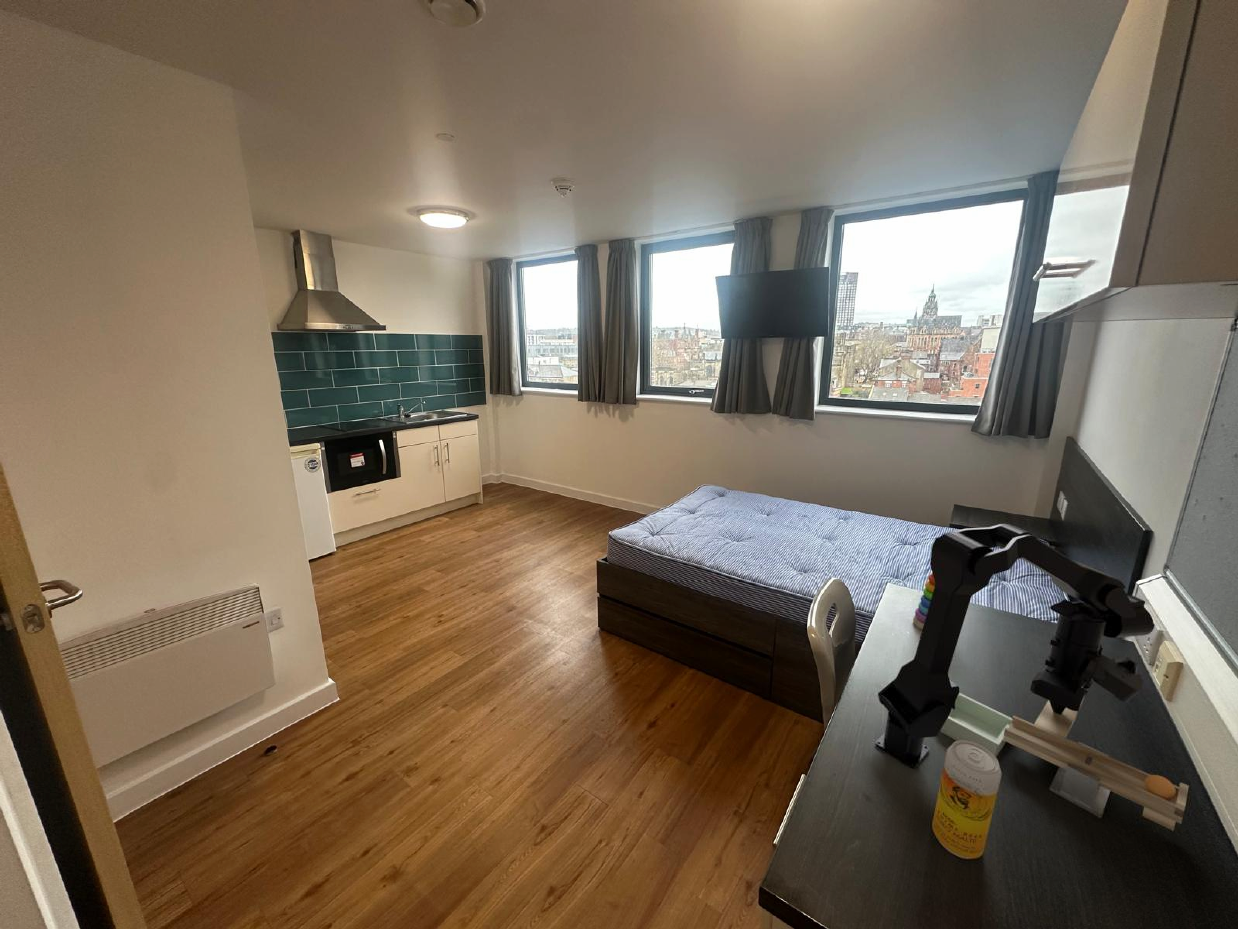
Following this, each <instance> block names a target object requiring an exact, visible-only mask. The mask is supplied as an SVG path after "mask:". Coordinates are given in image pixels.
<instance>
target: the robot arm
mask: <svg viewBox="0 0 1238 929" xmlns="http://www.w3.org/2000/svg"><path fill="white" fill-rule="evenodd" d="M996 547H999V548H1000V549H998V550H994V549H992V548H996ZM930 551H931V552H930V553H931V554H930V562H929V565H930V570H931V569H932V570H931V574H932V573H933V577H934V580H935V588H934V591H933V595H932V598H931V602H930V605H929V609H928V612H927V616H926V619H925V623H924V626H923V630H922V629H921V633H920V637H919V640H918V644H917V647H916V651H915V654H914V657H913V659H912V660H910V661H908V662H906V663H905V664H903V665H902V666H901V667H900V669H899V671H898V673H897V675H896V677H895V678H894V679H893V680H892V681H891V682H890V683H888V684H887V685H886V686H885V687H884V688H882V689H881V690H880V691H879V692H878V693H877V698H878V700H879V701H878V702H879V703H880V704H881V705H882V706H883V707H884V709H886V710H887V711H888V712H887V719H886V726H885V730H884V731H885V732H883V734H882V735H881V736H880V737H878V738H877V740H876V741H875V746H876V747H877V748H879V749H881V750H882V751H884V752H886V753H887V754H889V755H890V756H892V757H894V758H895V759H897V760H898V761H900V762H901V763H903V764H905V765H906V766H908V767H910V768H911V769H916V768H917V767H918V765H920V763H921V761H923V759H924V758H925V757H926V756H927V754H928V753H929V752H930V747H929V746H928V745H926V744H924V740H925V738H934V737H937V736H938V735H939V734H940V733H941V732H940V730H941V728H942V727H943V725H944V723H945V722H946V720H947V718H948V716H949V714H950V712H951V709H955V701H956V699H957V697H958V695H959V693H960V687H959V686H958V684H956V683H955V682H954V681H953V680H952V679H951V678H950V677H949V671H950V667H951V664H952V661H953V658H954V654H955V651H956V648H957V645H958V642H959V639H960V635H961V633H962V632H961V631H962V628H963V625H964V622H965V619H966V615H967V613H968V609H969V605H970V602H971V599H972V597H973V596H974V595H975V594H977V593H978V592H980V591H981V590H982V589H985V588H986V587H988V585H989V583H990V581H991V579H992V577H993V576H994V575H997V574H1000V573H1004V572H1007V571H1009V570H1011V569H1012V567H1013V566H1014V565H1015V564H1016V563H1017V561H1018V560H1020V559H1021V560H1023V561H1025V562H1026V563H1027V564H1030V565H1031V566H1033V567H1035V568H1037V569H1038V570H1039V571H1042V572H1043V573H1045V574H1047V575H1048V576H1049V578H1050V579H1051V582H1052V584H1054V585H1055V586H1056V587H1057V588H1058V589H1059V591H1060V590H1061V592H1063V593H1065V594H1067V595H1069V596H1071V597H1073V598H1075V599H1076V600H1079V601H1069V600H1068V599H1065V598H1064V599H1062V600H1061V601H1059V602H1055V603H1053V604H1052V605H1050V607H1049V610H1050V611H1053V612H1054V613H1056V614H1058V619H1057V623H1056V628H1055V631H1054V635H1053V636H1052V637H1051V639H1050V643H1049V645H1050V646H1051V647H1050V651H1049V655H1048V656H1047V658H1045V662H1044V665H1045V666H1046V667H1045V670H1043V671H1040V672H1037V673H1036V674H1035V676H1034V678H1033V679H1032V681H1031V684H1030V689H1029V691H1030V692H1031V693H1032V694H1035V695H1036V696H1037V697H1038V696H1039V697H1041V698H1043V699H1046V700H1047V701H1048V700H1049V702H1050V704H1051V707H1052V710H1053V712H1055V713H1057V714H1059V715H1061V714H1062V713H1063V711H1064V710H1065V708H1068V709H1070V710H1072V711H1078V712H1079V711H1080V710H1081V708H1082V705H1083V703H1084V700H1085V698H1086V697H1087V694H1088V692H1089V690H1087V689H1090V688H1091V686H1092V685H1093V683H1096V684H1097V685H1099V687H1101V688H1103V689H1104V690H1106V691H1107V692H1109V693H1110V694H1112V695H1114V698H1116V699H1118V700H1119V701H1120V702H1124V703H1127V702H1129V700H1131V699H1132V698H1133V697H1135V696H1136V694H1138V693H1139V692H1141V690H1142V689H1143V685H1144V679H1142V678H1143V676H1142V675H1141V674H1137V673H1138V665H1139V664H1138V663H1137V662H1136V661H1134V660H1133V659H1131V658H1129V657H1128V656H1126V657H1121V658H1116V659H1115V658H1114V657H1111V658H1109V657H1107V656H1105V655H1104V654H1103V651H1104V647H1102V642H1103V637H1106V638H1111V639H1112V638H1113V639H1116V638H1127V637H1128V638H1129V637H1141V636H1142V637H1143V636H1147V635H1150V634H1151V633H1152V632H1153V631H1154V628H1155V623H1154V619H1153V617H1152V615H1151V614H1150V612H1149V611H1148V610H1147V608H1146V607H1145V605H1146V601H1145V600H1143V599H1141V598H1139V597H1136V596H1135V595H1132V594H1131V595H1128V594H1127V593H1126V591H1125V589H1126V583H1124V581H1122V580H1121V579H1119V578H1118V577H1117V578H1116V577H1115V576H1112V575H1109V574H1107V573H1105V572H1103V571H1100V570H1098V569H1096V568H1093V567H1091V566H1088V565H1087V564H1084V563H1081V562H1080V561H1076V560H1073V559H1071V558H1069V557H1067V555H1065V554H1062V553H1061V552H1060V551H1058V550H1056V549H1055V548H1053V547H1052V546H1049V545H1048V544H1047V543H1045V542H1044V541H1042V540H1040V539H1038V538H1037V537H1036V536H1035V535H1034V534H1033V533H1032V532H1029V531H1027V530H1026V529H1022V528H1021V527H1018V526H1015V525H1012V524H1009V523H999V524H996V525H992V526H988V527H973V528H972V527H971V528H970V527H969V528H967V527H966V528H963V529H959V530H955V531H954V530H953V531H947V532H945V533H943V534H942V535H940V536H938V537H936V538H935V539H934V541H933V543H932V545H931V550H930ZM1093 681H1094V682H1093Z"/></svg>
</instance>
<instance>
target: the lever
mask: <svg viewBox="0 0 1238 929" xmlns="http://www.w3.org/2000/svg"><path fill="white" fill-rule="evenodd" d="M1078 712H1079V711H1072V710H1070V709H1068V708H1065V710H1064V711H1063V713H1062V714H1061V715H1059V714H1057V713H1055V712H1053V710H1052V707H1051V704H1050V702H1049V700H1047V702H1046V703H1045V705H1044V707H1043V708H1042V710H1041V712H1040V713H1039V715H1038V717H1037V718H1036V720H1035V722H1034V723H1032V722H1030V721H1027V720H1025V719H1023V718H1020V717H1018V716H1016V715H1013V716H1012V717H1011V718H1012V723H1011V725H1010V727H1009V728H1005V730H1004V738H1003V740H1004V741H1006V743H1009V744H1010V745H1013V746H1015V747H1016V748H1019V749H1021V750H1023V751H1025V752H1027V753H1029V754H1031V755H1033V756H1036V757H1037V758H1039V759H1043V760H1044V761H1047V762H1049V763H1050V764H1053V765H1055V766H1057V767H1058V768H1059V767H1061V768H1063V769H1065V770H1066V769H1067V766H1068V763H1069V764H1071V765H1073V766H1075V767H1077V768H1079V769H1081V770H1083V771H1085V772H1087V773H1089V774H1091V775H1093V776H1095V777H1097V778H1099V779H1100V782H1099V786H1101V787H1103V788H1106V789H1108V790H1110V792H1113V793H1114V794H1116V795H1119V796H1121V797H1122V798H1125V799H1127V800H1128V801H1129V800H1130V801H1131V802H1133V803H1135V804H1138V805H1139V806H1142V807H1143V812H1142V817H1144V818H1146V819H1148V820H1150V821H1152V822H1154V823H1156V824H1159V825H1160V826H1162V827H1165V828H1167V829H1169V830H1171V831H1172V832H1174V831H1175V827H1176V823H1178V824H1180V825H1181V824H1182V822H1183V819H1184V813H1185V809H1186V803H1187V798H1188V793H1189V787H1190V786H1189V785H1187V784H1186V783H1183V782H1180V783H1179V786H1177V785H1176V784H1173V786H1174V787H1175V790H1176V795H1175V797H1174V798H1173V799H1170V800H1165V799H1163V798H1161V797H1158V796H1156V795H1154V794H1152V793H1150V792H1149V791H1148V789H1147V788H1146V786H1145V779H1146V778H1147V777H1148V776H1150V775H1151V773H1148V772H1145V771H1143V770H1141V769H1140V768H1139V769H1138V768H1136V767H1134V766H1132V765H1130V764H1127V763H1124V762H1122V761H1120V760H1118V759H1115V758H1113V757H1112V756H1110V755H1108V756H1106V755H1107V754H1106V755H1104V754H1105V753H1104V754H1102V753H1103V752H1102V753H1099V752H1097V751H1098V750H1097V751H1095V750H1096V749H1095V750H1092V749H1090V748H1088V747H1086V746H1083V745H1081V744H1079V743H1078V742H1077V741H1074V740H1071V739H1069V738H1067V737H1068V735H1069V733H1070V731H1071V729H1072V727H1073V725H1074V722H1075V721H1076V718H1077V717H1078Z"/></svg>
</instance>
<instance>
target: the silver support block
mask: <svg viewBox="0 0 1238 929" xmlns="http://www.w3.org/2000/svg"><path fill="white" fill-rule="evenodd" d="M1077 743H1079V744H1081V745H1083V746H1086V747H1088V748H1090V749H1092V750H1095V751H1097V752H1099V753H1102V754H1104V755H1106V756H1109V754H1107V753H1104V752H1101V751H1099V750H1098V749H1095V748H1093V747H1091V746H1089V745H1087V744H1085V743H1083V742H1080V741H1078V742H1077ZM1099 782H1100V779H1099V778H1097V777H1095V776H1093V775H1091V774H1089V773H1087V772H1085V771H1083V770H1081V769H1079V768H1077V767H1075V766H1073V765H1071V764H1069V763H1068V766H1067V769H1066V770H1065V769H1063V768H1061V767H1059V766H1058V769H1057V771H1056V774H1055V776H1054V777H1053V779H1052V781H1051V784H1050V785H1049V791H1051V792H1053V793H1054V794H1056V795H1058V796H1060V797H1062V798H1064V799H1065V800H1067V801H1069V802H1071V803H1073V804H1074V805H1076V806H1078V807H1079V808H1082V809H1083V810H1085V811H1088V812H1089V813H1091V814H1092V815H1094V816H1096V817H1098V818H1100V819H1102V816H1103V814H1104V811H1105V808H1106V804H1107V802H1108V800H1109V799H1108V798H1109V795H1110V792H1111V791H1110V790H1108V789H1106V788H1103V787H1101V786H1099Z"/></svg>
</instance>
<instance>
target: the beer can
mask: <svg viewBox="0 0 1238 929" xmlns="http://www.w3.org/2000/svg"><path fill="white" fill-rule="evenodd" d="M943 763H944V764H943V769H942V774H941V779H940V784H939V789H938V794H937V799H936V804H935V809H934V815H933V818H932V819H933V820H932V825H931V827H932V831H933V833H934V835H935V837H936V839H937V840H938V842H939V843H940V844H941V846H942V847H943V848H944V849H946V850H947V851H948V852H949V853H951V854H953V855H955V856H956V857H959V858H961V859H965V860H966V859H967V860H972V859H977V858H980V857H981V856H982V855H983V854H984V850H985V846H986V843H987V842H986V841H987V838H988V835H989V834H988V833H989V828H990V826H991V821H992V816H993V812H994V808H995V804H996V799H997V795H998V793H999V792H998V791H999V788H1000V783H1001V780H1002V771H1001V767H1000V763H999V760H998V758H997V757H995V756H994V755H993V754H992V753H991V752H990V751H988V750H987V749H985V748H984V747H982V746H980V745H978V744H976V743H973V742H970V741H965V740H959V741H957V740H955V741H954V742H952V744H951V745H950V746H949V747H948V748H947V749H946V754H945V759H944V762H943Z"/></svg>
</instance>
